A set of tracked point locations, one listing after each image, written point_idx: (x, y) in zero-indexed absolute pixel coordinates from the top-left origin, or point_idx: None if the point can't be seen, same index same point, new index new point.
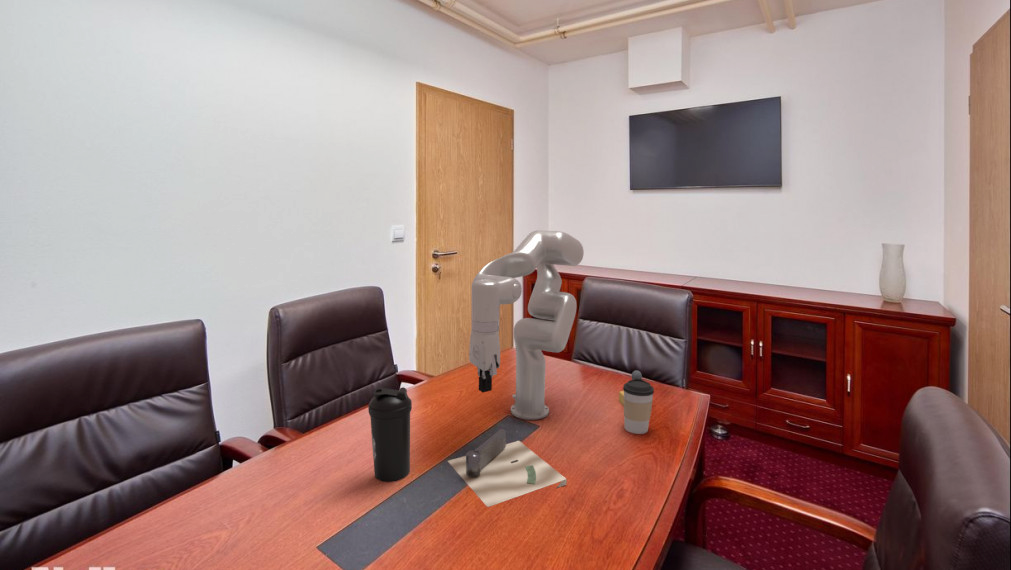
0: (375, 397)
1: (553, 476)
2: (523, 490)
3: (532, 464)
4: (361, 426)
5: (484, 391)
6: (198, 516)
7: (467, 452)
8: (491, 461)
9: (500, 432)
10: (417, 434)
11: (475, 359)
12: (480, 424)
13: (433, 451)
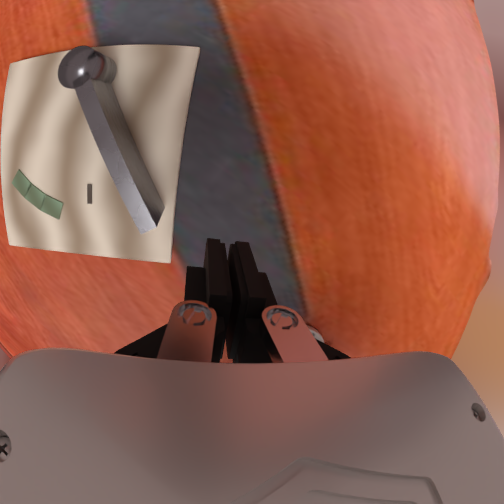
0: None
1: (20, 230)
2: (7, 150)
3: (64, 222)
4: (464, 57)
5: (205, 257)
6: None
7: (93, 54)
8: None
9: (136, 211)
10: (385, 95)
11: (328, 455)
12: (321, 244)
13: (290, 64)
